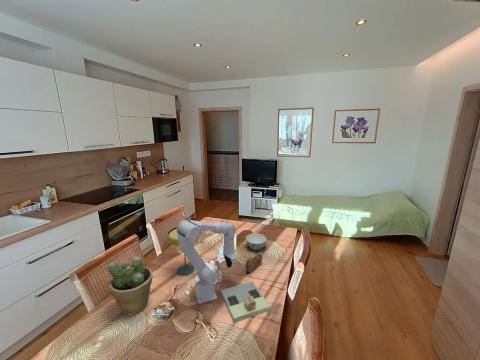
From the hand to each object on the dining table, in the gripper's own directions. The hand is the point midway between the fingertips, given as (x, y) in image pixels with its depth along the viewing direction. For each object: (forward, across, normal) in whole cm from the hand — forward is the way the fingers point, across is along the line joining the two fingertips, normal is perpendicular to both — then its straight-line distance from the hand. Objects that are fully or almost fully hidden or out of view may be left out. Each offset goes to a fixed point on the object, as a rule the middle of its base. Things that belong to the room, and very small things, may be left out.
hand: (229, 266), depth 121 cm
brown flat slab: (+10, +6, -18) cm, 21 cm away
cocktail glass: (+10, +20, +21) cm, 31 cm away
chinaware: (+10, +27, -30) cm, 41 cm away
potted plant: (+10, +1, +48) cm, 49 cm away
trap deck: (+9, -16, -2) cm, 19 cm away
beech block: (+7, -23, -2) cm, 24 cm away
